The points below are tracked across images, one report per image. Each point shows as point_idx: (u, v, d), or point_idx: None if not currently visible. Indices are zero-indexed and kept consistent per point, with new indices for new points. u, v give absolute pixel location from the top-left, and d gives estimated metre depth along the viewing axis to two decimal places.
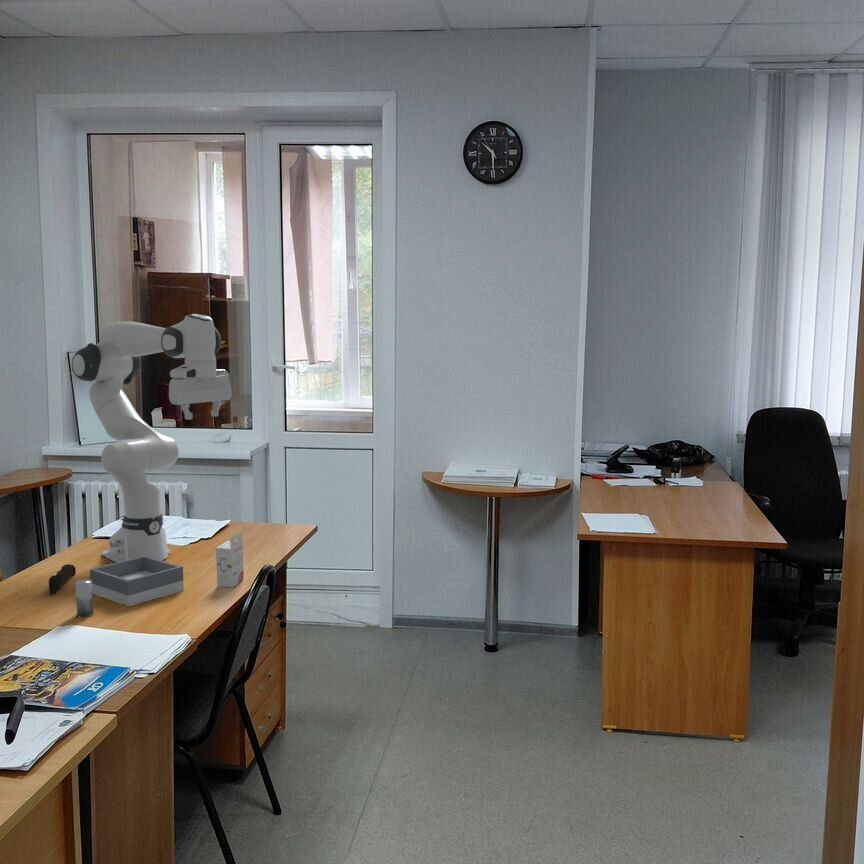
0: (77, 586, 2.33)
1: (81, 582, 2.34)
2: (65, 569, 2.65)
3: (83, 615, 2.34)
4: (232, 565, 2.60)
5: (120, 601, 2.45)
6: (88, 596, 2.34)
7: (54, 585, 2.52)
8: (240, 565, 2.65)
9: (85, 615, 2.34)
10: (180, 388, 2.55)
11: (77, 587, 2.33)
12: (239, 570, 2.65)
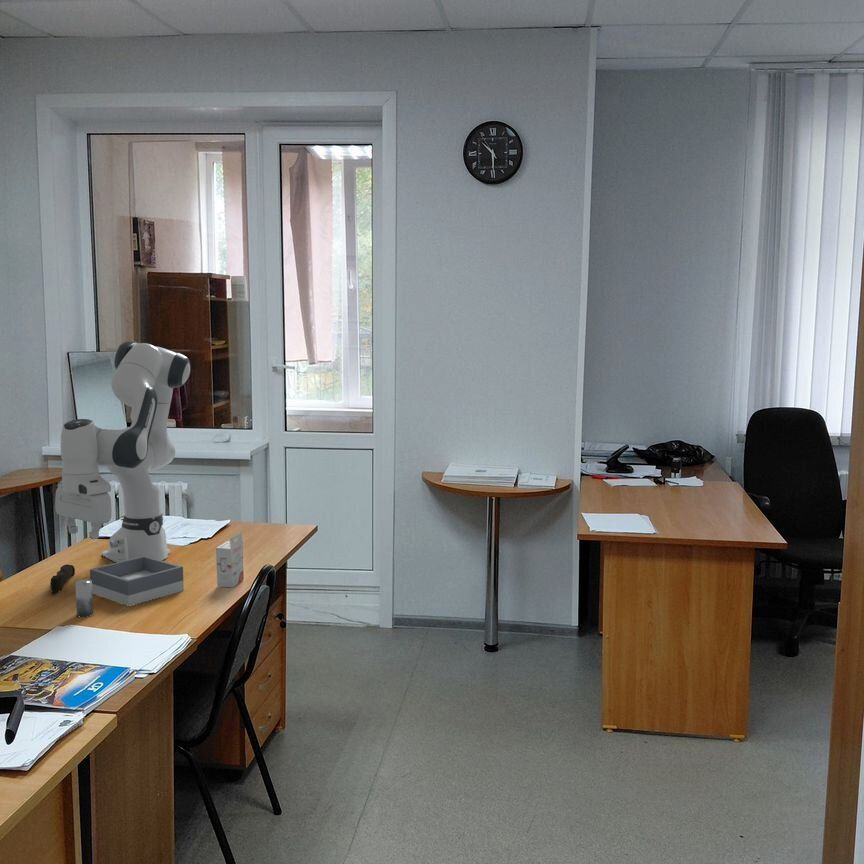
0: (77, 586, 2.33)
1: (81, 582, 2.34)
2: (65, 569, 2.65)
3: (83, 615, 2.34)
4: (232, 565, 2.60)
5: (120, 601, 2.45)
6: (88, 596, 2.34)
7: (56, 585, 2.53)
8: (240, 565, 2.65)
9: (85, 615, 2.34)
10: None
11: (77, 587, 2.33)
12: (239, 570, 2.65)
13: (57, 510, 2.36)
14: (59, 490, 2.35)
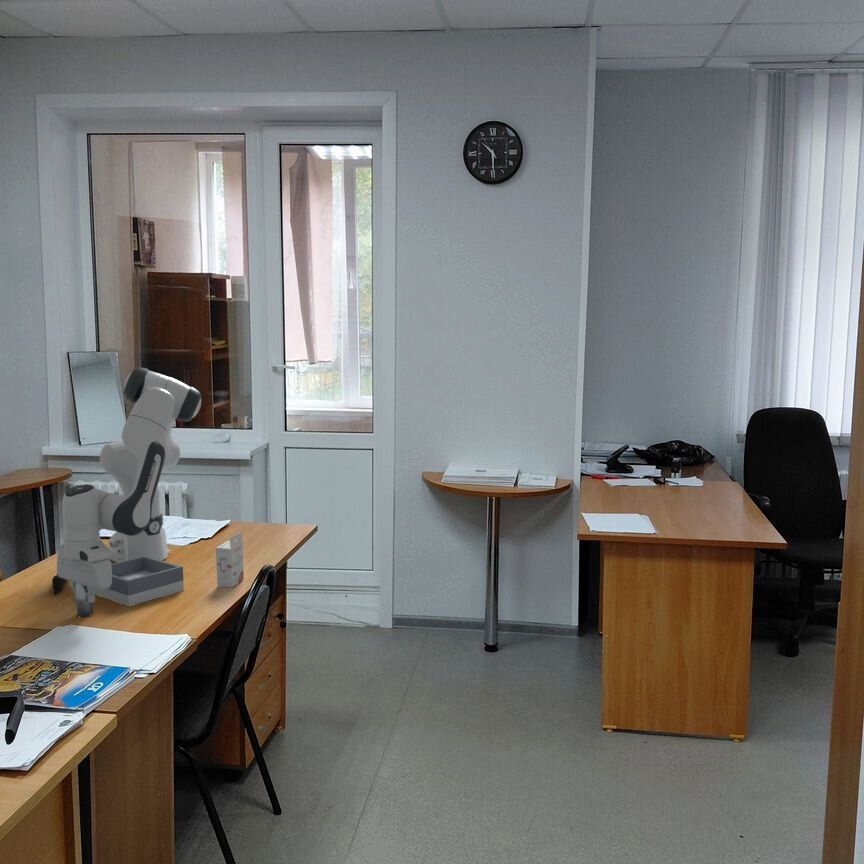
0: (77, 586, 2.33)
1: None
2: None
3: (83, 615, 2.34)
4: (232, 565, 2.60)
5: (120, 601, 2.45)
6: None
7: (58, 585, 2.53)
8: (240, 565, 2.65)
9: (85, 615, 2.34)
10: None
11: (77, 587, 2.33)
12: (239, 570, 2.65)
13: (58, 573, 2.39)
14: (61, 554, 2.37)
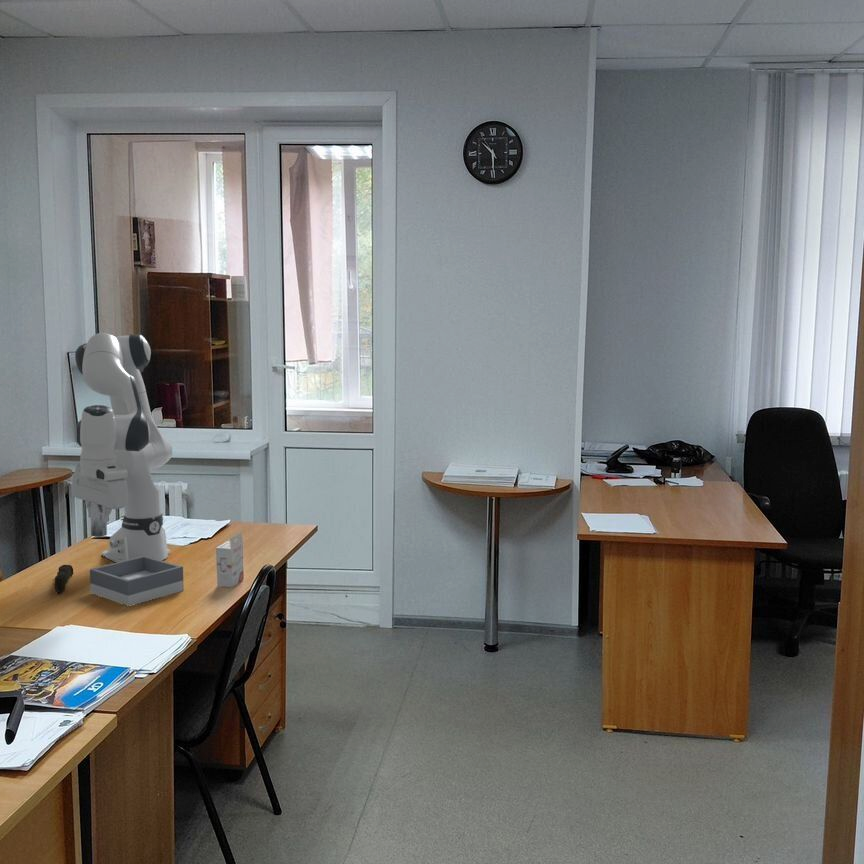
0: (92, 505, 2.36)
1: None
2: (65, 569, 2.65)
3: (97, 534, 2.37)
4: (232, 565, 2.60)
5: (120, 601, 2.45)
6: None
7: (61, 585, 2.53)
8: (240, 565, 2.65)
9: (99, 534, 2.37)
10: None
11: (92, 506, 2.36)
12: (239, 570, 2.65)
13: (73, 493, 2.41)
14: (77, 473, 2.40)
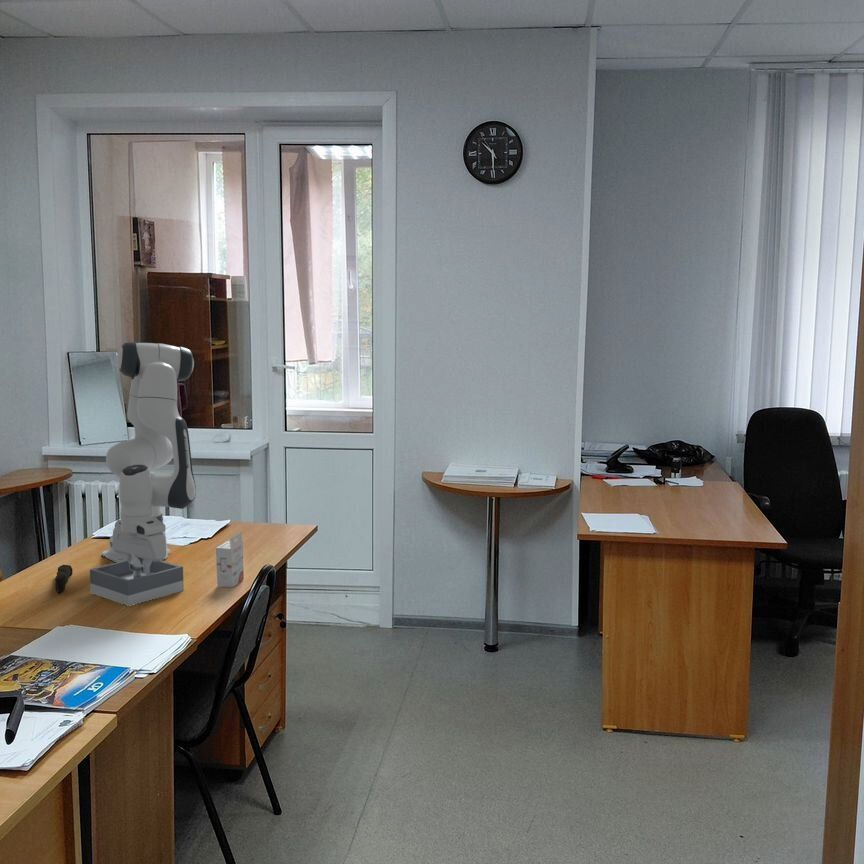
0: (133, 555, 2.53)
1: None
2: (64, 569, 2.65)
3: None
4: (232, 565, 2.60)
5: (120, 601, 2.45)
6: None
7: (61, 585, 2.53)
8: (240, 565, 2.65)
9: None
10: None
11: (133, 556, 2.53)
12: (239, 570, 2.65)
13: (114, 547, 2.58)
14: (117, 529, 2.56)
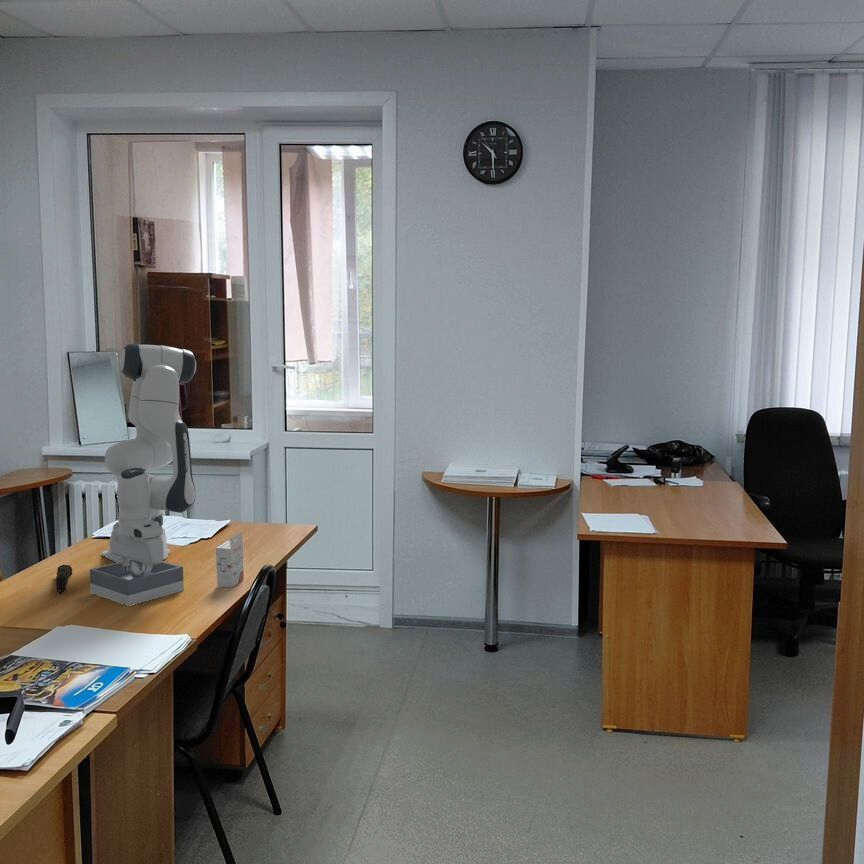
0: (133, 565, 2.53)
1: (136, 561, 2.54)
2: (64, 569, 2.65)
3: None
4: (232, 565, 2.60)
5: (120, 601, 2.45)
6: None
7: (62, 584, 2.53)
8: (240, 565, 2.65)
9: None
10: None
11: (133, 566, 2.53)
12: (239, 570, 2.65)
13: (112, 550, 2.58)
14: (115, 532, 2.56)
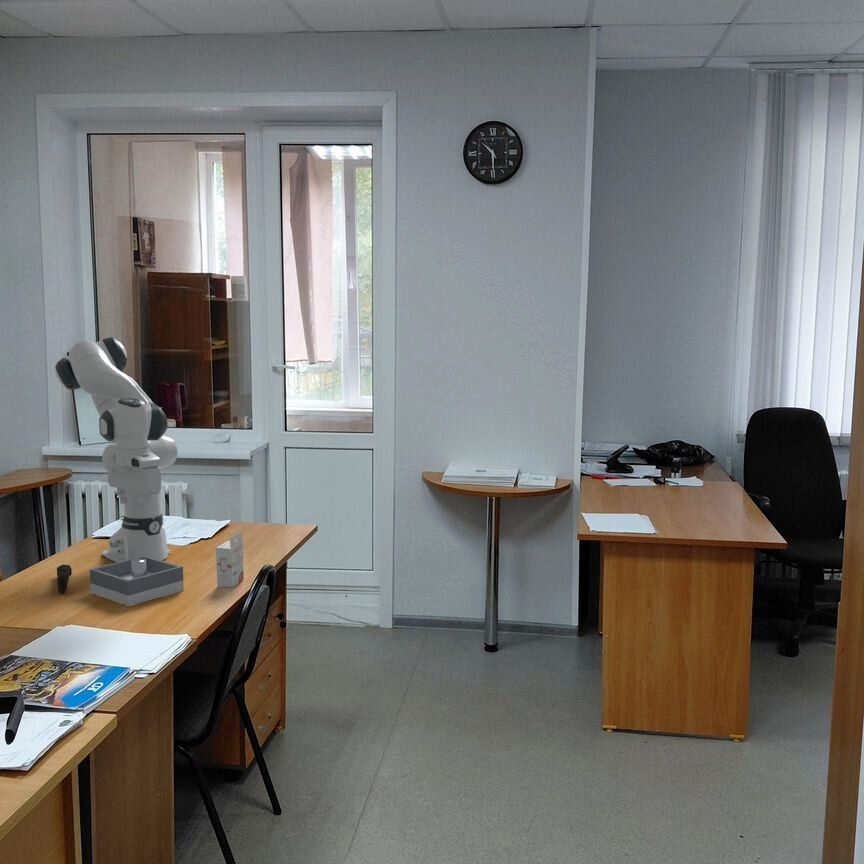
0: (133, 564, 2.53)
1: (136, 561, 2.54)
2: (64, 569, 2.65)
3: None
4: (232, 565, 2.60)
5: (120, 601, 2.45)
6: (143, 574, 2.54)
7: (64, 584, 2.53)
8: (240, 565, 2.65)
9: None
10: None
11: (133, 565, 2.53)
12: (239, 570, 2.65)
13: (109, 482, 2.55)
14: (112, 463, 2.53)
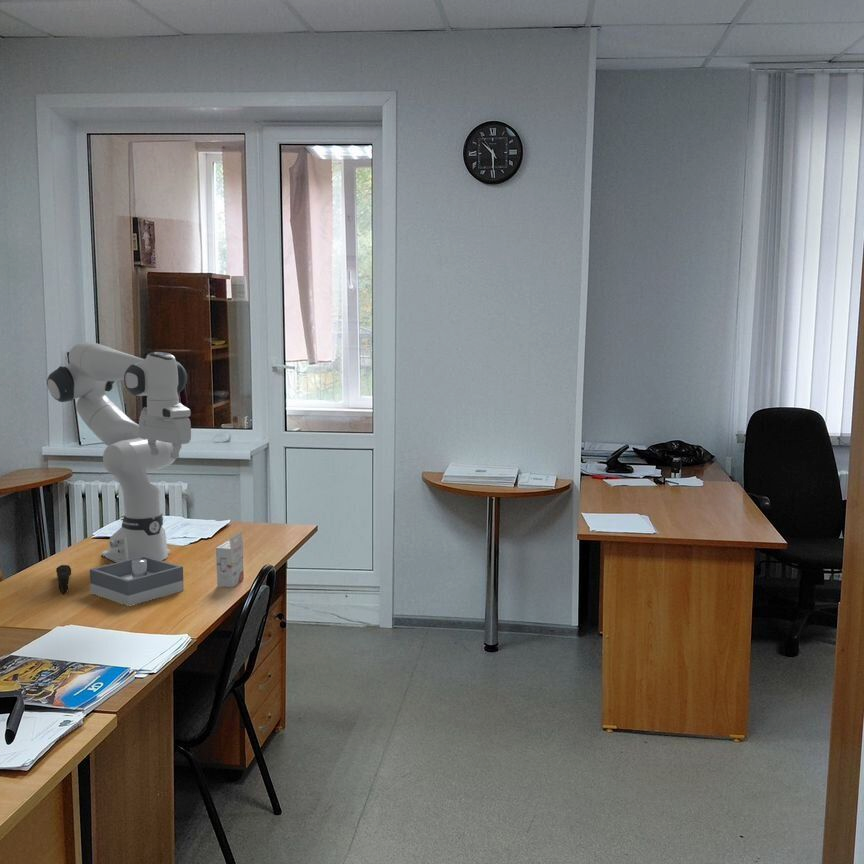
0: (133, 564, 2.53)
1: (137, 561, 2.54)
2: (64, 569, 2.65)
3: None
4: (232, 565, 2.60)
5: (120, 601, 2.45)
6: (143, 574, 2.54)
7: (66, 584, 2.53)
8: (240, 565, 2.65)
9: None
10: None
11: (133, 565, 2.53)
12: (239, 570, 2.65)
13: (140, 434, 2.64)
14: (143, 416, 2.62)
